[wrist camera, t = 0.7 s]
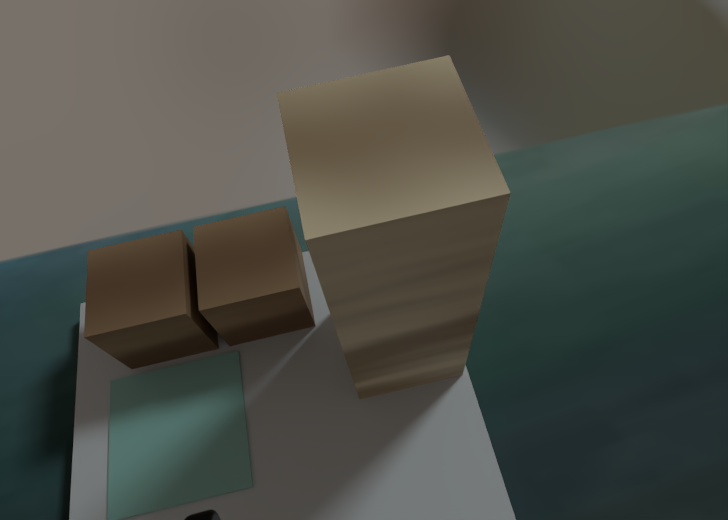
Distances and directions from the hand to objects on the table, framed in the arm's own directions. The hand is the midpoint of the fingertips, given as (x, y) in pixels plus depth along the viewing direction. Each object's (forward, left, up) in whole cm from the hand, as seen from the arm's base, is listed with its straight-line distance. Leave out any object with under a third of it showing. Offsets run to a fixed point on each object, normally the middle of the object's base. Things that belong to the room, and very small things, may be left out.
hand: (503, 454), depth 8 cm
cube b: (+11, +6, -14) cm, 18 cm away
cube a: (+11, +10, -14) cm, 20 cm away
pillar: (+7, 0, -14) cm, 15 cm away
